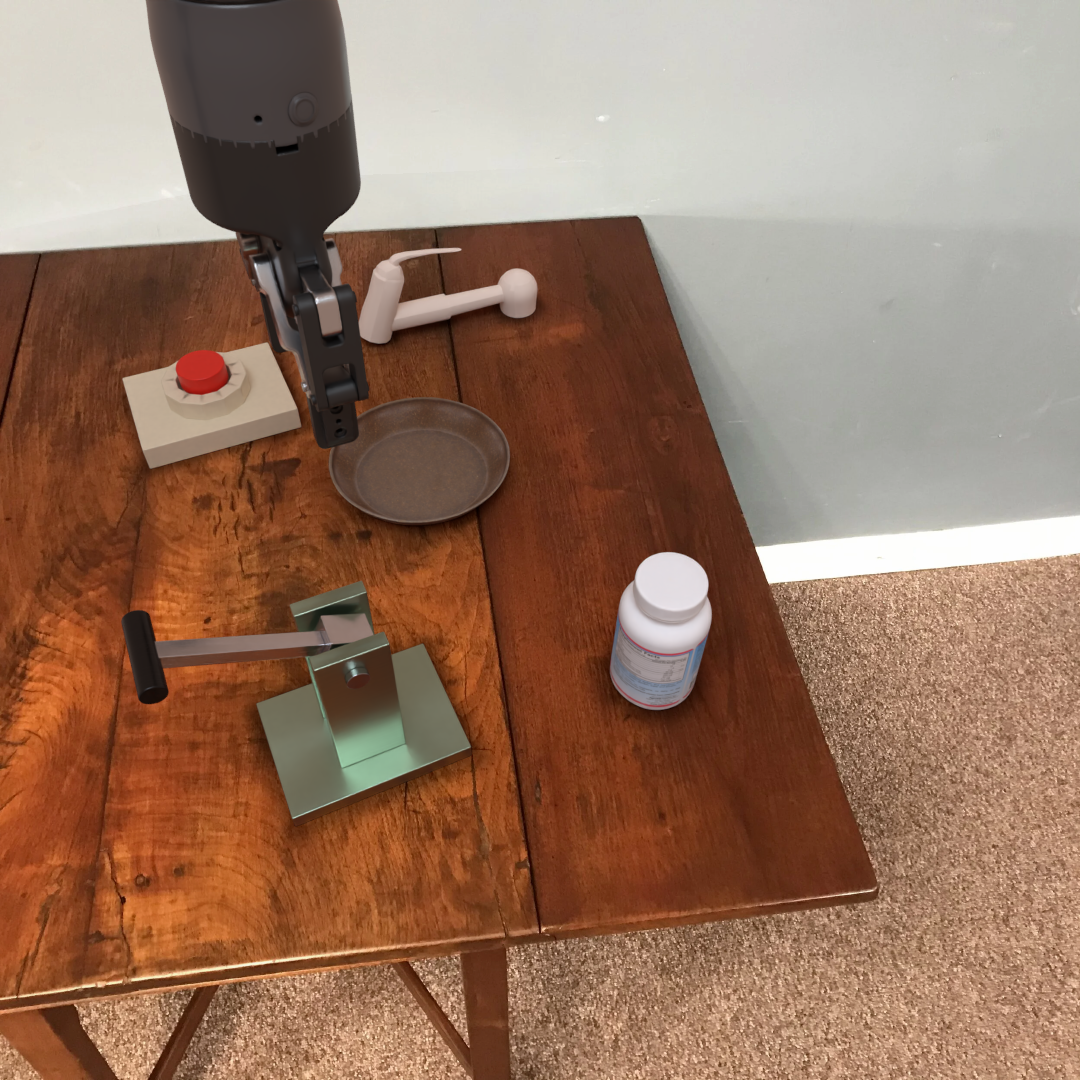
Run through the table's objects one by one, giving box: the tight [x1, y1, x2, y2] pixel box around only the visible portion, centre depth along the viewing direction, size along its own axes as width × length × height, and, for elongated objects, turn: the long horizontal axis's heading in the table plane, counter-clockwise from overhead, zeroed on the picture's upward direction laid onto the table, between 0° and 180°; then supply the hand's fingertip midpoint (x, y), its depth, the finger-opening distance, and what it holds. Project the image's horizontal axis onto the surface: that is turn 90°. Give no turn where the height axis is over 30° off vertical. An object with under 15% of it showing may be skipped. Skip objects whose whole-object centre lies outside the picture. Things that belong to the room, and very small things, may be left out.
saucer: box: [328, 396, 511, 526], centre depth 78 cm, size 15×15×3 cm
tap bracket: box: [255, 580, 473, 827], centre depth 58 cm, size 12×9×13 cm
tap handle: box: [120, 609, 374, 705], centre depth 52 cm, size 13×5×2 cm, turn 115°
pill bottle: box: [609, 551, 713, 711], centre depth 63 cm, size 6×6×11 cm
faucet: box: [358, 247, 539, 345], centre depth 91 cm, size 4×18×10 cm, turn 112°
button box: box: [121, 342, 302, 469], centre depth 82 cm, size 13×10×4 cm
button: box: [176, 349, 228, 395], centre depth 80 cm, size 4×4×2 cm
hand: (313, 391), depth 51 cm, fingers open, 8 cm apart
